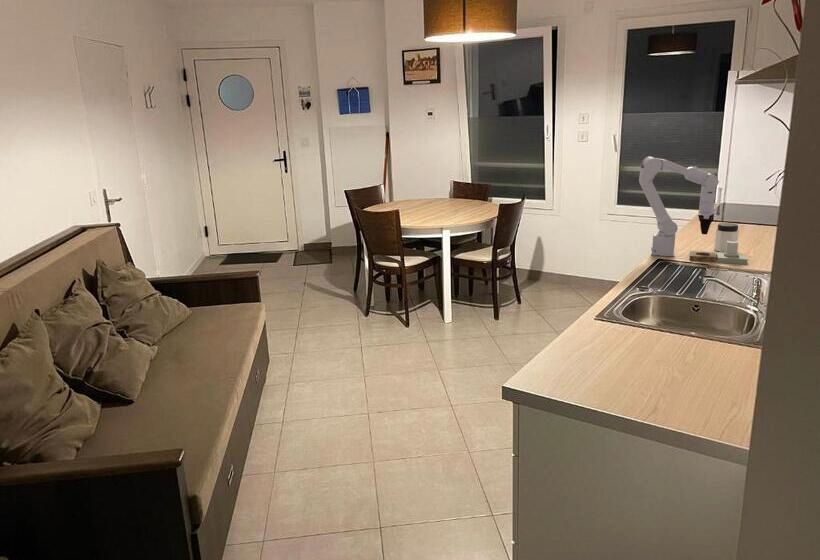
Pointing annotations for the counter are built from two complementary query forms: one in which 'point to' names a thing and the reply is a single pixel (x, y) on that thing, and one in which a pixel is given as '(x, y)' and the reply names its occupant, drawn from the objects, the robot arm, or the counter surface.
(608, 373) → the counter surface
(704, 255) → the socket block
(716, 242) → the jar
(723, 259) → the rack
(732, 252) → the peg
